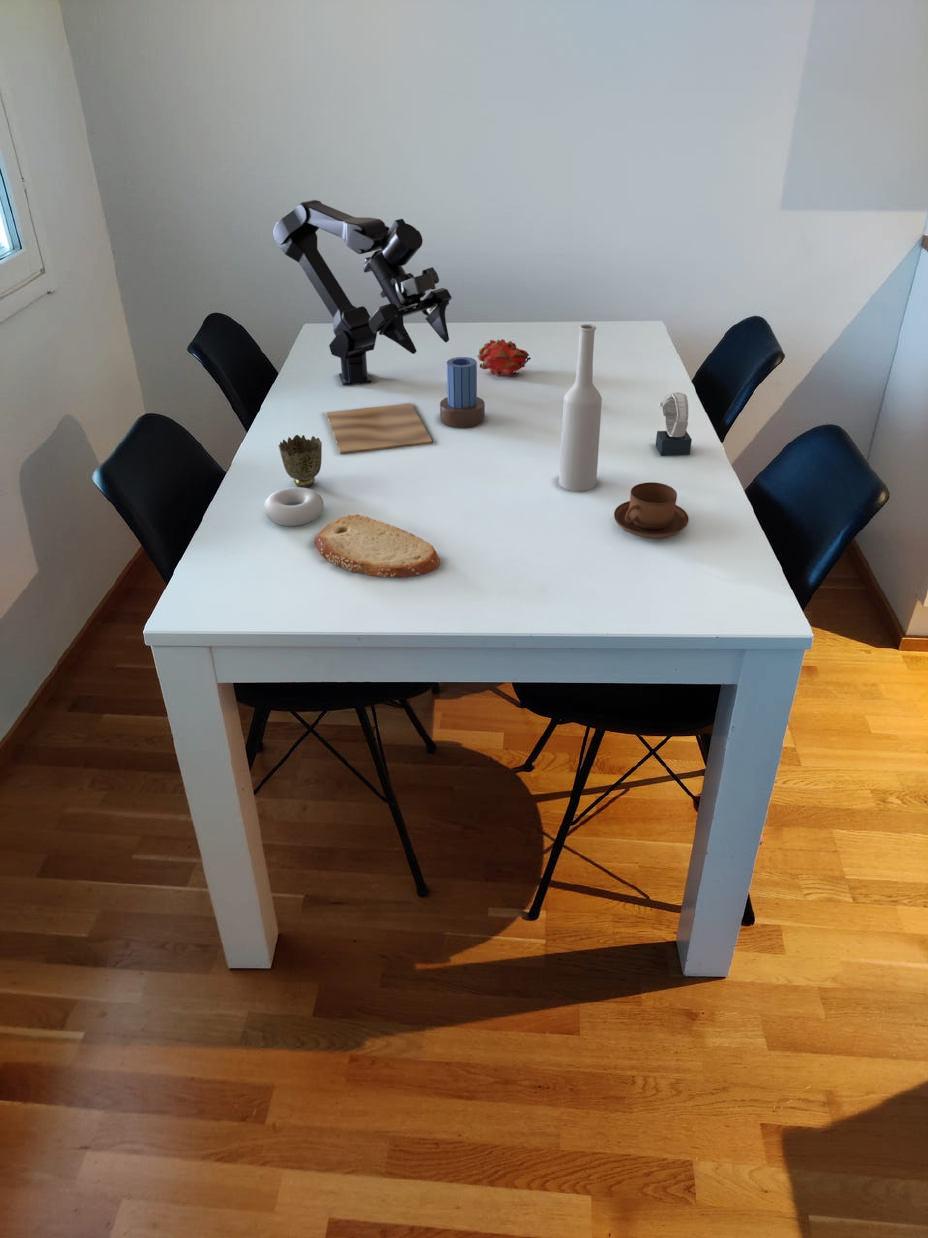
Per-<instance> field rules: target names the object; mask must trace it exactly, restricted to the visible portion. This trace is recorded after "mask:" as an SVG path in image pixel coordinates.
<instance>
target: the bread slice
mask: <svg viewBox="0 0 928 1238" xmlns="http://www.w3.org/2000/svg"><path fill="white" fill-rule="evenodd" d="M313 544H314V546H315V548H316V551H317V552H318V554H319V555H321V557H323V559H324V560H326V561H327V562H329V563H330V564H334V565H335V566H337V567H339V568H341V569H344V570H346V571H349V572H350V573H352V572H353V573H362V574H365V575H367V576H370V577H377V578H393V579H394V578H395V579H401V578H411V577H417V576H421V575H425V574H428V573H431V572H433V571H434V570H438V569H439V567H440V566H441V563H442V561H441V558H440V557H439V555H438V553H437V551H436V549H435V547H434V546H433V545H432V544H430V543H429V542H428V541H426V540H424V539H423V538H422V537H420V536H416V535H414V534H413V533H411V532H409V531H407V530H404V529H402V528H399V527H397V526H394V525H391V524H389V523H386V522H383V521H381V520H377V519H375V518H370V517H369V516H365V515H360V514H358V513H356V514H353V515H352V514H348V515H345V516H342V517H339V518H338V519H335V520H333V521H332V522H330V523H328V524H327V525H326V526H325V527H324V528H322V529H321V530H320V531H319V533H318V534H317V535H315V538H314V539H313Z"/></svg>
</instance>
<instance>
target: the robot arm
mask: <svg viewBox="0 0 928 1238" xmlns="http://www.w3.org/2000/svg"><path fill="white" fill-rule="evenodd" d="M319 229H320V230H323V231H325V232H327V233H330V234H332V235H334V236H336V237H338V238H341V239H342V240H344V244H345V246H346V247H347V248H349V249H350V250H352V251H353V252H354V253H356V254H358V255H364V254H366V253H367V254H368V253H372V252H373V253H372V254H371V256H368V257H365V258H364V265H363V273H369V272H372V274H373V276H374V277H375V279H376V281H377V283H378V284H379V286H380V288H381V290H382V291H381V292H379V294H380V297H381V299H384V298H386V299H387V300H388V302H389V303H387V304H384V305H381V306H378V307H377V308H376V309H375V311H373V313H372V314H371V315H370V313H369V311H368V309H367V308H366V307H365V306H364V305H362V306H361V305H360V306H359V307H357V306H355V305H353V303H352V302H351V301H350V299H349V298H348V296H347V295H346V293H345V291H344V289H343V288H342V286H341V284H340V283H339V282H338V280H337V278H336V277H335V275H334V273H333V272H332V270H331V269H330V267H329V266H328V264H327V262H326V260H325V259H324V257H323V256H322V254H321V252H320V251H319V249H318V234H317V232H318V231H319ZM272 235H273V240H274V242H275V243H276V245H277V247H279V248H280V250H281V251H282V252H283V254H284V255H285V256H287V257H289V258H290V259H292V260H293V261H295V262H297V263H298V264H299V265H300V267H301V269H302V270H303V272H304V274H305V275H306V277H307V279H308V280H309V282H310V283H311V285H312V286H313V289H315V291H316V293H317V295H318V296H319V298H320V299H321V301H322V302H323V304H324V306H325V307H326V309H327V311H328V312H329V313H330V315H331V317H332V320H333V321H332V324H333V325H332V330H333V334H334V338H333V339H332V341H331V342H330V343H329V350H330V354H331V355H332V356H334V357H337V358H339V359H340V367H341V368H340V369H341V372H340V373H338V377H339V379H340V382H341V385H342V386H350V385H351V386H352V385H360V384H370V383H372V378H371V376H370V374H369V373H368V361H367V352H370V351H374V350H375V347H376V341H377V336H378V335H380V336H385V337H386V338H388V339H389V340H391V341H393V342H395V343H396V344H397V345H399V346H401V347H402V348H403V349H405V350H406V351H407V352H409V353H410V354H412V355H415V354H416V353H417V348H416V346H415V343H414V342H413V340H412V339H411V336H410V335H409V332H408V330H407V329H406V327H405V325H404V324H405V323H404V317H407V316H410V315H414V314H416V313H419V312H422V314H423V315H425V316H426V317H425V321H426V322H427V323H428V325H430V327H431V328H432V330H434V332H435V333H436V334H437V336H438V337H439V338H440V339H441V340H442V341H443V342H444V343H448V342H449V341H450V337H449V331H448V325H447V320H446V319H447V318H446V311H447V307H448V306H449V305H450V301H451V300H452V299H453V297H452V295H451V294H450V291H449V289H448V288H445V287H441V288H438V289H437V286H436V285H437V284H439V282H440V278H439V275H438V272H437V271H436V270H435V268H434V267H433V266H432V267H428V268H426V269H423V270H422V271H421V274H420V275H416V276H414V274H413V273H411V272H409V273H407V272H406V270H405V269H404V267H403V266H406V265H407V264H408V263H409V262H410V260H411V259H412V258H413V257H414V256H415V254H416V253H417V252H418V251H419V250H420V248H421V247H422V245H423V236H422V234H421V232H420V231H419V230H418V229H417V228H415V227H414V226H413V225H411V224H409V223H406V221H405V220H404V218H398V219H395V220H394V221H393V222H392V223H391V226H390V227H389V226H388V225H386V223H385V222H384V221H383V220H381V219H380V218H375V217H359V216H358V217H357V216H352V215H350V214H348V213H346V212H343V211H341V210H338V209H336V208H334V207H331V206H329V205H326V204H324V203H322V201H320V200H318V199H312V200H307V201H301V202H300V203H298V204H297V205H295V207H294V209H293V210H292V211H290V212H288V213H287V214H286V215H284V216H283V217H282V218H280V220H279V221H276V223H275V225H274V227H273V230H272ZM430 290H431V291H430ZM426 291H430V292H429V293H428V294H427V295H426ZM425 295H426V296H425ZM422 298H423V299H422ZM421 299H422V300H421Z"/></svg>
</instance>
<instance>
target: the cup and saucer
mask: <svg viewBox="0 0 928 1238" xmlns="http://www.w3.org/2000/svg"><path fill="white" fill-rule="evenodd" d="M629 496H630V497H629V500H627V501H625V502H623V503H621V504H619V505H618V506H617V507H616V508H615V509H614V512H613V517H614V520H615V522H616V524H617V525H618V526H619V527H620V528H621V529H623V530H624V531H626V532H627V533H630V534H632V535H634V536H639V537H642V538H649V539H659V538H667V537H671V536H674V535H676V534H678V533H680V532H682V531H683V530H685V528H686V527H687V525H688V524H689V515H688V513H687V512H686V510H685V509H683V508H682V507H681V506H679V505H677V498H678V493H677V490H676V489H674V487H672V486H670V485H668V484H665V483H661V482H651V481H648V482H640V483H638V484H636V485H634V486H632V487H631V489H630V495H629Z"/></svg>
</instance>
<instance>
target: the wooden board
mask: <svg viewBox="0 0 928 1238" xmlns="http://www.w3.org/2000/svg"><path fill="white" fill-rule="evenodd" d="M325 415H326V418H327V421H328V423H329V426H330V429H331V432H332V434H333V437H334V440H335V443H336V445H337V448H338V451H339V454H340V455H342V454H350V453H352V454H353V453H359V452H366V451H367V452H369V451H375V450H376V451H377V450H384V449H394V448H400V447H409V446H419V445H426V444H433V440H432V438H431V436H430V434H429V433H428V431H427V429H426V427H425V425H424V424H423V422H422V420H421V418H420V417H419V415H418V413H417V411H416V410H415V407H414V406H413V404H412V402H409V403H400V404H399V403H398V404H391V405H382V406H374V407H363V408H355V409H346V410H345V409H344V410H336V411H328V412H325Z"/></svg>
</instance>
